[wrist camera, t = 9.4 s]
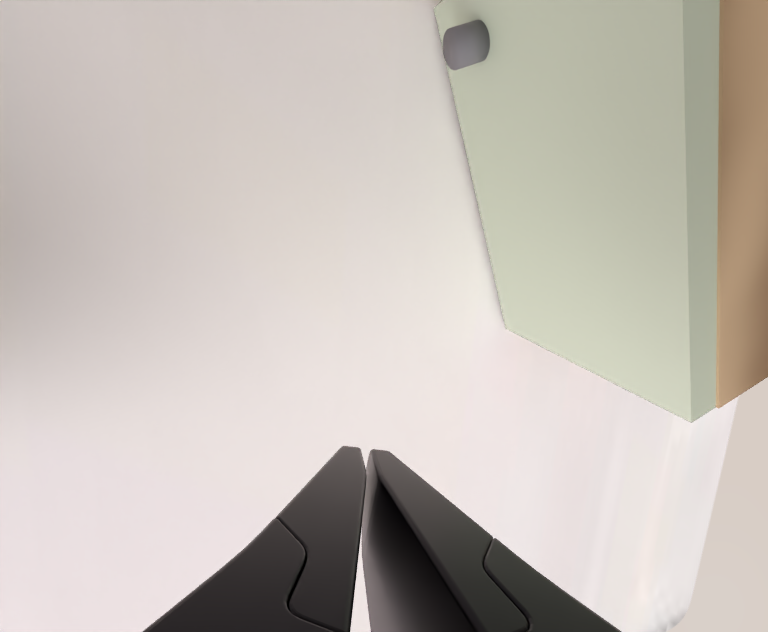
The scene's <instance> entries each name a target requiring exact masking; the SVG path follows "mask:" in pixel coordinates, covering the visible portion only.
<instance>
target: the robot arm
mask: <svg viewBox="0 0 768 632" xmlns="http://www.w3.org/2000/svg"><path fill="white" fill-rule="evenodd" d="M361 527H362V560H363V570H364V578H365V586H366V594H367V603H368V611H369V619H370V627H371V632H621V631H620V630H618V629H617V628H616V627H614V626H613V625H611V624H610V623H609V622H607V621H606V620H604V619H603V618H601V617H600V616H599V615H597V614H596V613H594V612H593V611H592V610H590V609H589V608H587V607H586V606H585V605H583V604H582V603H580V602H579V601H578V600H576V599H575V598H573V597H572V596H570V595H569V594H568V593H566V592H565V591H564V590H562V589H561V588H559V587H558V586H557V585H555V584H554V583H553V582H551V581H550V580H548V579H547V578H546V577H544V576H543V575H542V574H540V573H539V572H537V571H536V570H535V569H534V568H532V567H531V566H530V565H528V564H527V563H526V562H525V561H523V560H522V559H521V558H520V557H518V556H517V555H516V554H514V553H513V552H512V551H511V550H509V549H508V548H507V547H506V546H505V545H503V544H502V543H501V542H500V541H499V540H497V539H496V538H494V539H493V537H492V536H491V535H490V534H489V533H488V532H487V531H485V530H484V529H483V528H482V527H480V526H479V525H478V524H477V523H476V522H474V521H473V520H472V519H471V518H470V517H468V516H467V515H466V514H465V513H463V512H462V511H461V510H460V509H459V508H457V507H456V506H455V505H454V504H452V503H451V502H450V501H449V500H448V499H446V498H445V497H444V496H443V495H442V494H440V493H439V492H438V491H437V490H435V489H434V488H433V487H432V486H431V485H429V484H428V483H427V482H426V481H424V480H423V479H422V478H421V477H420V476H418V475H417V474H416V473H415V472H414V471H412V470H411V469H410V468H409V467H407V466H406V465H405V464H404V463H403V462H401V461H400V460H399V459H398V458H397V457H395V456H394V455H393V454H392V453H390V452H389V451H384V450H375V449H373V450H371V451H370V454H369V458H368V462H367V467H366V469H365V465H364V461H363V457H362V453H361V449H360V448H357V447H349V446H343V447H341V448H340V449H339V450H338V451H337V452H336V453H335V455H334V456H333V457H332V458H331V459H330V460H329V461H328V462H327V463H326V464H325V465H324V466H323V467H322V468H321V470H320V471H319V472H318V473H317V474H316V475H315V476H314V477H313V478H312V479H311V480H310V481H309V482H308V483H307V485H306V486H305V487H304V488H303V489H302V490H301V491H300V492H299V493H298V494H297V495H296V496H295V497H294V498H293V500H292V501H291V502H290V503H289V504H288V505H287V506H286V507H285V508H284V509H283V510H282V511H281V512H280V513H279V514H278V516H277V517H276V518H275V519H273V520H272V521H271V522H270V523H269V524H268V525H267V526H266V528H265V529H264V530H263V531H262V532H261V533H260V534H259V535H258V536H257V537H256V538H255V539H254V540H253V541H252V542H251V543H250V544H249V545H248V546H247V547H246V548H244V549H243V550H242V551H241V552H240V553H239V554H237V555H236V556H235V557H234V558H233V559H231V560H230V561H229V562H228V563H227V564H226V565H224V566H223V567H222V568H221V569H220V570H219V571H217V572H216V573H215V574H214V575H212V576H211V577H210V578H209V579H207V580H206V581H205V582H204V583H202V584H201V585H200V586H199V587H197V588H196V589H195V590H194V591H192V592H191V593H190V594H189V595H187V596H186V597H185V598H184V599H183V600H181V601H180V602H179V603H178V604H176V605H175V606H174V607H173V608H171V609H170V610H169V611H168V612H166V613H165V614H164V615H163V616H161V617H160V618H159V619H158V620H156V621H155V622H154V623H153V624H151V625H150V626H149V627H148V628H147V629H145V630H144V631H143V632H350V627H351V618H352V609H353V600H354V590H355V581H356V572H357V563H358V554H359V545H360V536H361Z"/></svg>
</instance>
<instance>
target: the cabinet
mask: <svg viewBox="0 0 768 632" xmlns="http://www.w3.org/2000/svg"><path fill="white" fill-rule="evenodd" d="M767 377H768V0H720V17H719V126H718V235H717V344H716V407H717V408H720V407H722V406H723V405H725V404H727V403H728V402H730V401H731V400H733V399H734V398H736V397H737V396H739V395H740V394H742V393H743V392H745V391H747V390H748V389H750V388H751V387H753V386H754V385H756V384H757V383H759V382H760V381H762V380H764V379H765V378H767Z"/></svg>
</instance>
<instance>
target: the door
mask: <svg viewBox="0 0 768 632" xmlns="http://www.w3.org/2000/svg"><path fill="white" fill-rule="evenodd" d="M434 12H435V16H436V21H437V25H438V30H439V34H440V38H441V43H442V47H443V54H444V58H445V61H446V65H447V70H448V74H449V78H450V83H451V87H452V92H453V96H454V101H455V105H456V110H457V114H458V119H459V123H460V127H461V132H462V136H463V141H464V145H465V150H466V154H467V159H468V163H469V167H470V172H471V176H472V181H473V185H474V190H475V194H476V199H477V203H478V207H479V212H480V216H481V221H482V225H483V230H484V234H485V239H486V243H487V248H488V252H489V256H490V261H491V265H492V270H493V274H494V279H495V283H496V288H497V292H498V296H499V301H500V305H501V310H502V314H503V319H504V323H505V328H506V329H507V330H509V331H511V332H513V333H515V334H517V335H519V336H521V337H523V338H525V339H527V340H529V341H531V342H533V343H535V344H536V345H538V346H540V347H542V348H544V349H546V350H548V351H551V352H552V353H554V354H556V355H558V356H560V357H562V358H564V359H566V360H568V361H570V362H572V363H574V364H576V365H578V366H580V367H582V368H584V369H586V370H588V371H590V372H592V373H594V374H596V375H598V376H600V377H602V378H604V379H606V380H608V381H610V382H612V383H614V384H615V385H617V386H619V387H621V388H623V389H625V390H627V391H629V392H631V393H633V394H635V395H637V396H639V397H641V398H643V399H645V400H647V401H649V402H651V403H653V404H655V405H657V406H659V407H661V408H663V409H665V410H667V411H669V412H671V413H673V414H675V415H677V416H679V417H681V418H683V419H685V420H687V421H689V422H691V423H692V422H693V421H695V420H697V419H698V418H700V417H701V416H703V415H704V414H706V413H707V412H709V411H711V410H712V409H714V408H715V407H716V344H717V235H718V126H719V17H720V0H443V1H442V2H440V3H439V4H438V5H437V6H436V7H434Z"/></svg>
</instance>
